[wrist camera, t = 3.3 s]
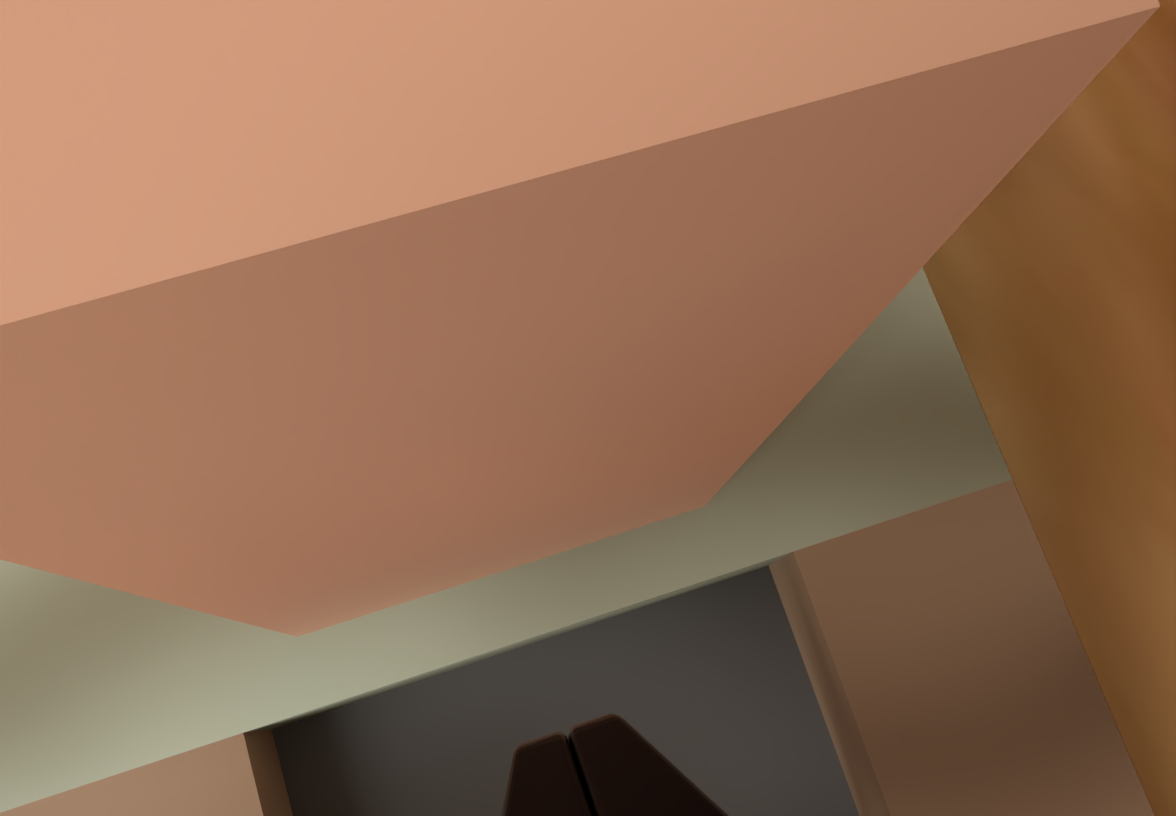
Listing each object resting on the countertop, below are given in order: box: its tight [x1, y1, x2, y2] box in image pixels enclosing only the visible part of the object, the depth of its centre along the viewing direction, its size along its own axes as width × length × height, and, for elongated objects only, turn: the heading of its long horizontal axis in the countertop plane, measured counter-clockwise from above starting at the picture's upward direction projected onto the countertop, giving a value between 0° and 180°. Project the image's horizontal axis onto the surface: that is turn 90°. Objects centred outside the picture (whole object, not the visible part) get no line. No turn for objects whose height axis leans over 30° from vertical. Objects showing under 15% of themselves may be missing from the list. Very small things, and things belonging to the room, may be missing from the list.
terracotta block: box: [0, 0, 1160, 637], centre depth 11 cm, size 7×6×12 cm
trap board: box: [0, 267, 1155, 816], centre depth 18 cm, size 35×15×2 cm, turn 18°
